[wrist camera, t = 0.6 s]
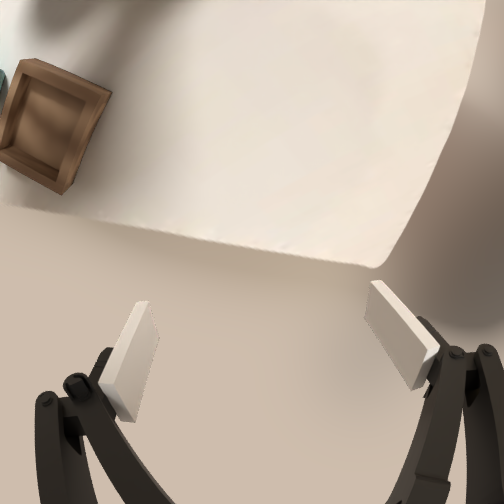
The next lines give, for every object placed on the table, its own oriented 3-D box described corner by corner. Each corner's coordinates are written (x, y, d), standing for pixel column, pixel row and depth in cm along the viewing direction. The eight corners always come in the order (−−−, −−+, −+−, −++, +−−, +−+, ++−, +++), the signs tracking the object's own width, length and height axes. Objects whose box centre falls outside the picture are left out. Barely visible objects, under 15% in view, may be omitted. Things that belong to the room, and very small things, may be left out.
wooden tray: (35, 58, 23) (20, 59, 19) (112, 92, 29) (101, 95, 26) (5, 147, 29) (-9, 156, 26) (72, 183, 35) (61, 195, 32)
